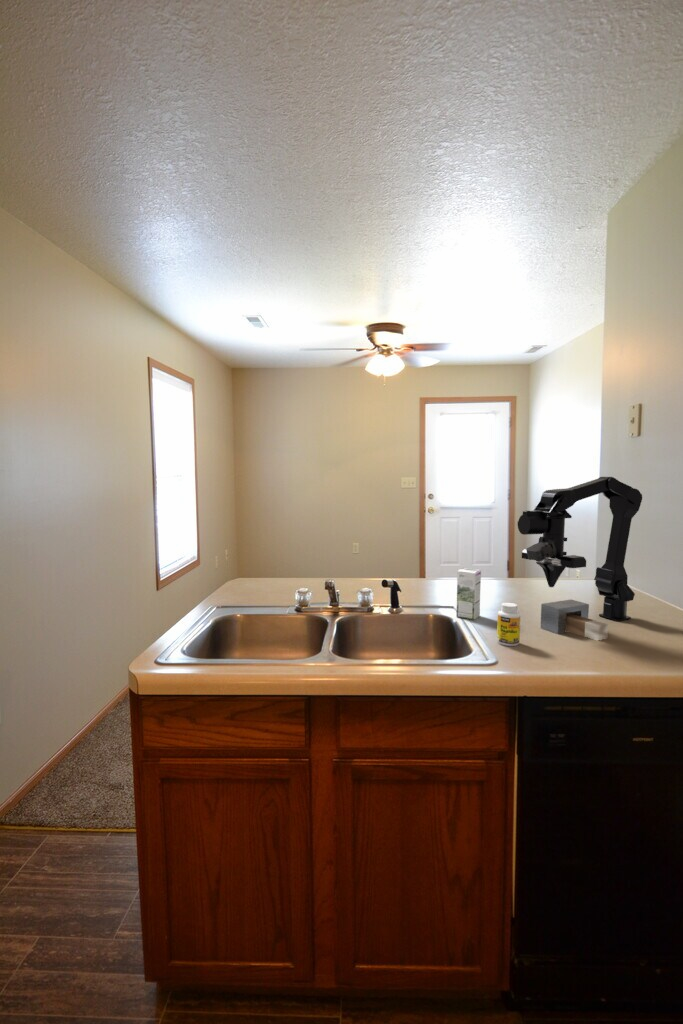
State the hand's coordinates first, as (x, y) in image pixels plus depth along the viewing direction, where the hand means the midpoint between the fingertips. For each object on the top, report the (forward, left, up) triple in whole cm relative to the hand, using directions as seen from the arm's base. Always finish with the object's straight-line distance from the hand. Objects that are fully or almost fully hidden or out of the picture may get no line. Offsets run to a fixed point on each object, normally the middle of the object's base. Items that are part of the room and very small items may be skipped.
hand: (551, 587), depth 153 cm
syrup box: (+17, -16, -11) cm, 26 cm away
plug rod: (-1, +9, -11) cm, 14 cm away
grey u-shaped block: (0, +5, -11) cm, 12 cm away
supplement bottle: (+24, +8, -11) cm, 28 cm away
